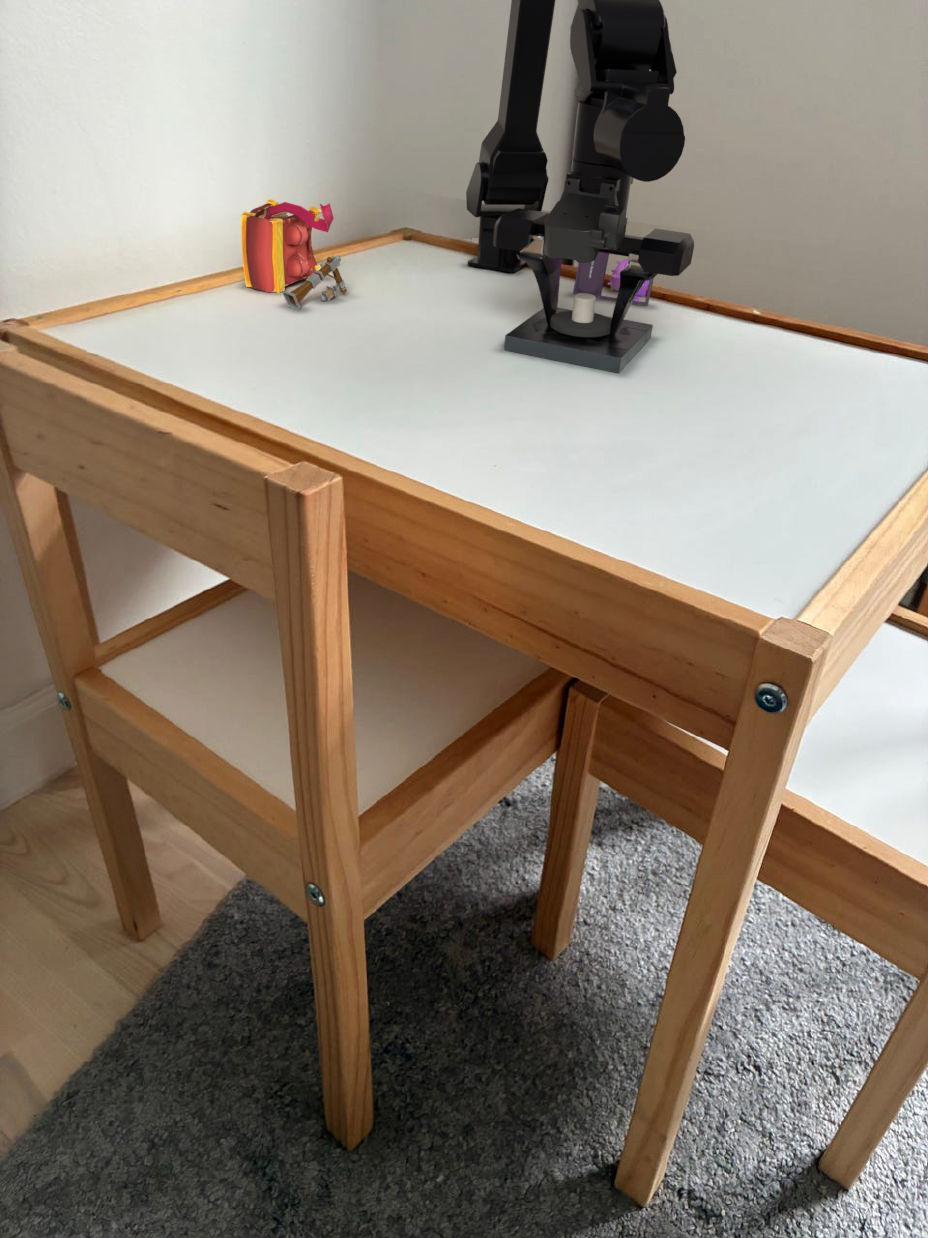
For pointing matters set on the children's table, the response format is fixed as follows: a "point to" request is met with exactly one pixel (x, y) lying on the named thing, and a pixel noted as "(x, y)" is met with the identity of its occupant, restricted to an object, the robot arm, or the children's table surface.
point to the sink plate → (579, 343)
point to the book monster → (280, 244)
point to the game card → (593, 279)
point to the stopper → (581, 319)
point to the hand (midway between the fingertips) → (581, 329)
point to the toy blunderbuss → (317, 283)
